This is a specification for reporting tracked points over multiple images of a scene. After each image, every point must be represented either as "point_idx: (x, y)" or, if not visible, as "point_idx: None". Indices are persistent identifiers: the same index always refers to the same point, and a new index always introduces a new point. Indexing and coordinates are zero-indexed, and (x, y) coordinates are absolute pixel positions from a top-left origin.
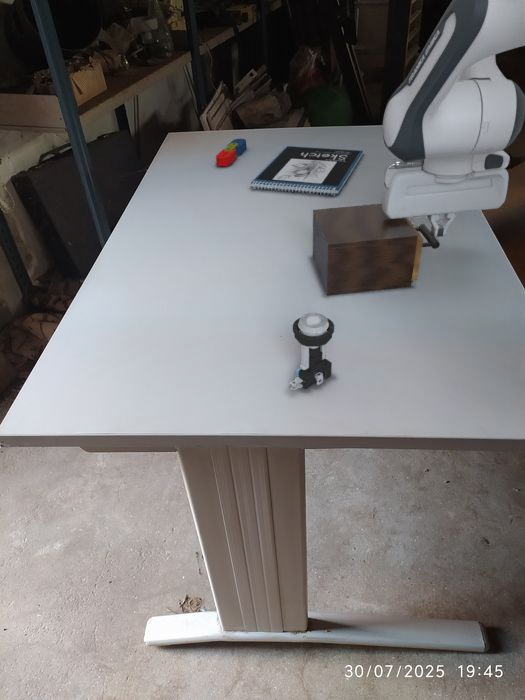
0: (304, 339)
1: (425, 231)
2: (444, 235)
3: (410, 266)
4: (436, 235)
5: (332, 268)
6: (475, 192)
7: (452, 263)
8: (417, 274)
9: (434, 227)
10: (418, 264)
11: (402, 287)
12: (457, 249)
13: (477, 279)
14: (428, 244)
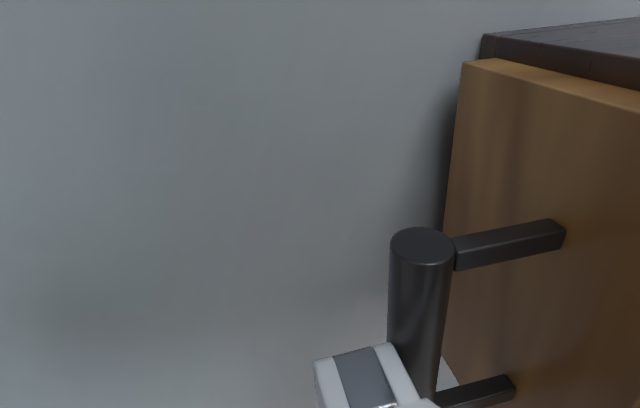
0: None
1: (434, 382)
2: (321, 361)
3: (607, 47)
4: (381, 352)
5: None
6: None
7: (216, 251)
8: (487, 66)
9: (435, 406)
10: (539, 79)
11: (525, 29)
12: (171, 356)
13: (97, 90)
14: (477, 244)
